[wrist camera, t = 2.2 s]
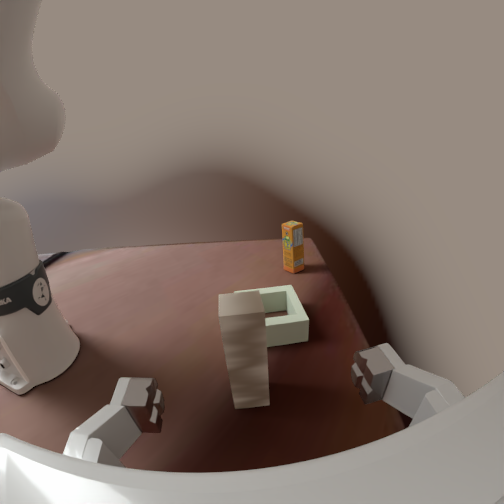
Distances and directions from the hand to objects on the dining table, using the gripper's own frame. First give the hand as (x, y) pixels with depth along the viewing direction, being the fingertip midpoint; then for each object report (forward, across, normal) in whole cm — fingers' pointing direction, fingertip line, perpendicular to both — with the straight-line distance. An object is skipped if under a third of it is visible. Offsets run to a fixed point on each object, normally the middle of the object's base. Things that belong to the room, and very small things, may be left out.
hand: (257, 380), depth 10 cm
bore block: (+25, -4, +15) cm, 30 cm away
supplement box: (+43, -12, +15) cm, 48 cm away
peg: (+12, 0, +15) cm, 20 cm away
